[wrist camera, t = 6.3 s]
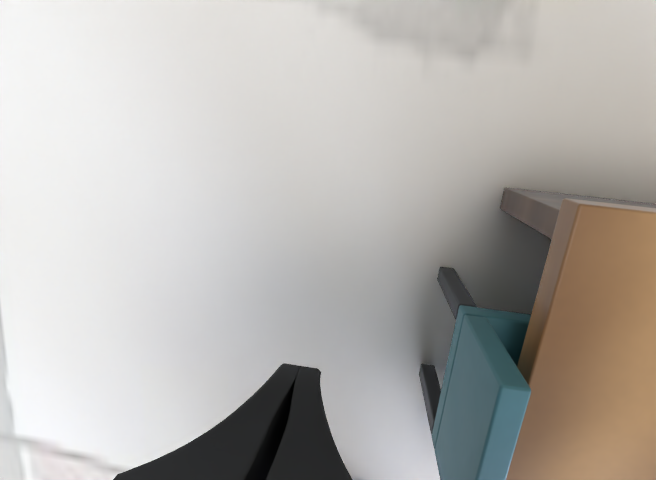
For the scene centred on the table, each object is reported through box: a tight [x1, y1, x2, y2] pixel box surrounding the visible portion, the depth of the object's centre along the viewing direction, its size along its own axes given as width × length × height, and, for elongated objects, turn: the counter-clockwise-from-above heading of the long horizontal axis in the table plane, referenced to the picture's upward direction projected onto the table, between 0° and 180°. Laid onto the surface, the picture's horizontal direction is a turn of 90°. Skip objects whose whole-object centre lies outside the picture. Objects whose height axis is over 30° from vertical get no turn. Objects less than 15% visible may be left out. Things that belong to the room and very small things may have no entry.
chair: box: [419, 267, 531, 480], centre depth 15 cm, size 8×6×9 cm
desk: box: [500, 188, 656, 480], centre depth 15 cm, size 11×15×7 cm
